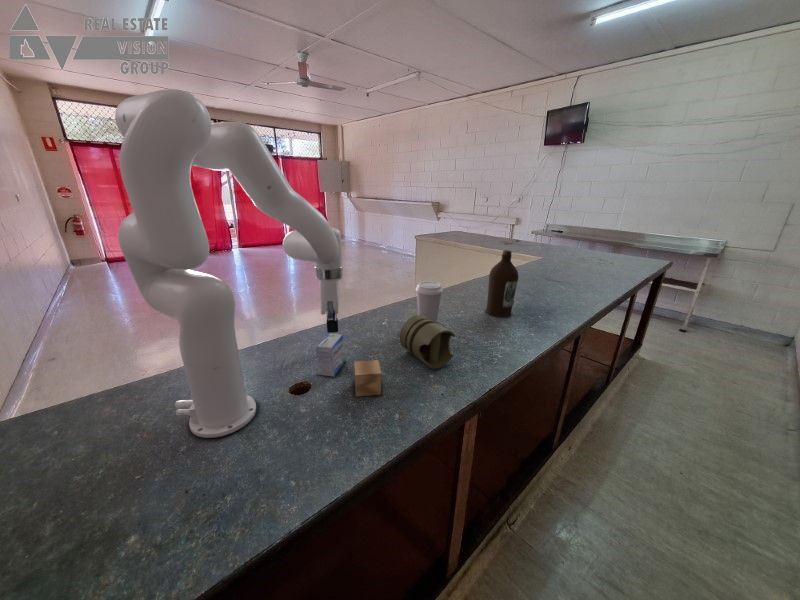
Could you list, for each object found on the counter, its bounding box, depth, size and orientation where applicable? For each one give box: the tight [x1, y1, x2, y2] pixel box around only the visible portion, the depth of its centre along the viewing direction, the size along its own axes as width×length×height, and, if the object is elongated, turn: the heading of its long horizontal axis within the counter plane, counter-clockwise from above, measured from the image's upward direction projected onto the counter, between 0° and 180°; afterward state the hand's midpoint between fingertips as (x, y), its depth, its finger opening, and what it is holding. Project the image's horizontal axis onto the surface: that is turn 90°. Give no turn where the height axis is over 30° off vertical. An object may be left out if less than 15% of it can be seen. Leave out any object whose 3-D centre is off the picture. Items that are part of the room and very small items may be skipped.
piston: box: [399, 314, 456, 370], centre depth 90 cm, size 11×12×11 cm
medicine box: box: [315, 333, 345, 378], centre depth 84 cm, size 8×4×9 cm, turn 168°
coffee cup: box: [415, 280, 444, 324], centre depth 112 cm, size 10×10×15 cm
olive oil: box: [485, 249, 519, 318], centre depth 122 cm, size 11×11×25 cm
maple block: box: [353, 359, 382, 397], centre depth 77 cm, size 6×6×6 cm
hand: (332, 331), depth 95 cm, fingers closed
